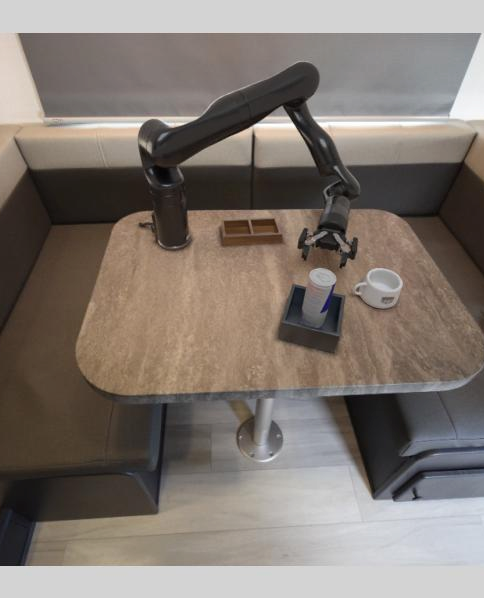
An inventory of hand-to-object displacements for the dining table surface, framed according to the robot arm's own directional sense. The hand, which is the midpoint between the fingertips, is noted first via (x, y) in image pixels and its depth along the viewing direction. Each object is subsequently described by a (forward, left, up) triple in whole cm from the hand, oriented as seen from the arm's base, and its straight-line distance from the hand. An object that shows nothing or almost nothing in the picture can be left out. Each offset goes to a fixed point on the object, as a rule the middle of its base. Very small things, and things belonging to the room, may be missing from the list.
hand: (323, 262), depth 83 cm
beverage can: (+3, -11, -10) cm, 15 cm away
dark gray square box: (+3, -11, -11) cm, 15 cm away
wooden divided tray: (-26, +15, -11) cm, 32 cm away
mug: (+14, +6, -11) cm, 18 cm away
